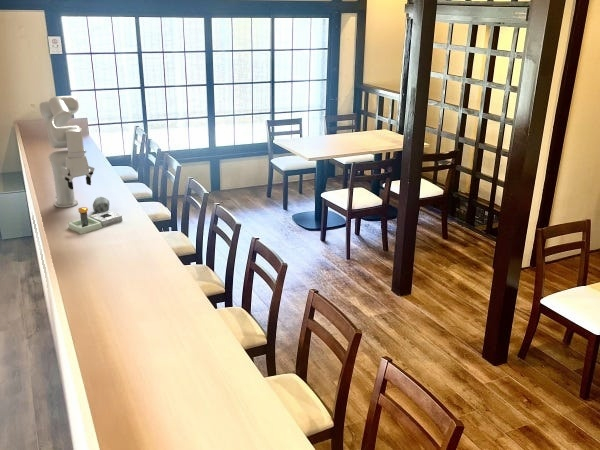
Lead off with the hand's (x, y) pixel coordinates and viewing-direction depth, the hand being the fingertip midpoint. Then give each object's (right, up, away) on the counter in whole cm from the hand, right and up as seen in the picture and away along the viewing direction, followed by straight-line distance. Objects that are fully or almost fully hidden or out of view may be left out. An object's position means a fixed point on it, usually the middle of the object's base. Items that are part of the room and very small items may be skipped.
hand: (80, 186), depth 287 cm
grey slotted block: (+7, -17, +18) cm, 26 cm away
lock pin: (0, -20, +8) cm, 22 cm away
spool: (0, -13, +30) cm, 33 cm away
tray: (0, -21, +8) cm, 22 cm away
